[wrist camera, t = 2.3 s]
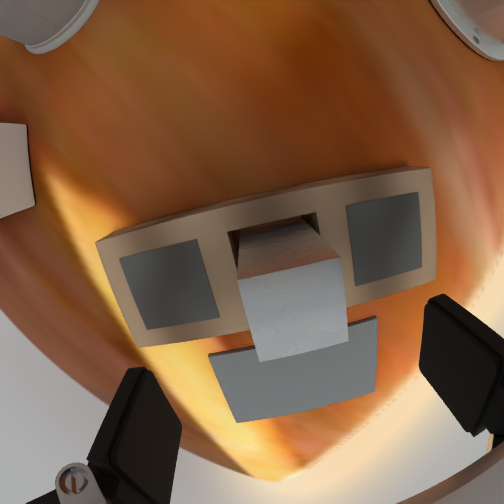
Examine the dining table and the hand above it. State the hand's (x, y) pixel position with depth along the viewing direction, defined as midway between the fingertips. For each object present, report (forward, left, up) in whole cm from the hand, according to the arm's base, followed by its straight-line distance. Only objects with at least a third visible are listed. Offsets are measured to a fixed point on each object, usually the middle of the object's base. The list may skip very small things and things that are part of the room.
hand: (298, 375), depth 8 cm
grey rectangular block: (-1, 0, -12) cm, 12 cm away
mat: (-1, +12, -12) cm, 17 cm away
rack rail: (-1, 0, -12) cm, 12 cm away
